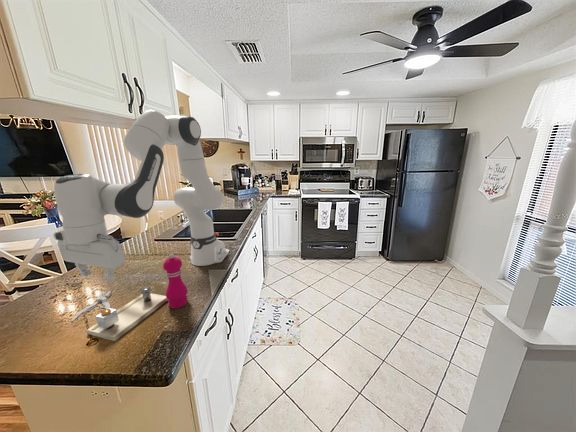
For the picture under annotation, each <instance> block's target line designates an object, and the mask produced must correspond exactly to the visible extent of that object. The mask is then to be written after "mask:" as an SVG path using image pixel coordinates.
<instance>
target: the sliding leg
mask: <svg viewBox="0 0 576 432" xmlns="http://www.w3.org/2000/svg"><path fill="white" fill-rule="evenodd" d="M117 310H118V309H116V308H111V307H110V308H108V309H105V308H104V309H102V310H101V312H100V313H99V314H97V315H95V317H96V322H97V323H98V327H99V328H103V329H107V328H108V327H110V326H111V325H113V324H114V323H116V322H117V321H119V319H118V315H117ZM97 323H96V324H97Z"/></svg>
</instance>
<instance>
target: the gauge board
mask: <svg viewBox="0 0 576 432" xmlns="http://www.w3.org/2000/svg"><path fill="white" fill-rule="evenodd" d="M150 294H151V298H150V299H149V300H148V301H146V300H144V299H143V294H142V293H141V294H140V295H139V296H137V297H135V298H134V299H132V300H131V301H129V302H128V303H126V304H124V305H123V306H122V307H120V308H118V309H116V310H117V315H118V319H119V321H117V322H116V323H114V324H113V325H111V326H110V327H108V328H107V329H103V328H99V327H98V323H95V324H94V325H92V326H90V327H89V328H88V329H86V332H87V334H88V335H90V336H94V337H97V338H102V339H105V340H108V341H113V342H116V341H117V340H118V339H120V338H121V337H122V336H124V335H125V334H126V333H127V332H129V331H130V330H132V329H133V328H134V327H136V325H138V324H139V323H141V322H142V321H143V320H145V319H146V318H147V317H148V316H150V315H151V314H152V313H153V312H155V311H156V310H158V309H159V308H160V307H162V306H163V305H164V304H165V303H166V302H169V300H168V299H167V298H166V295H163V294H162V295H161V294H158V293H157V294H156V293H151V292H150Z"/></svg>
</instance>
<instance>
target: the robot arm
mask: <svg viewBox="0 0 576 432" xmlns="http://www.w3.org/2000/svg"><path fill="white" fill-rule="evenodd" d="M201 134H202V130H201V126H200V124H199V122H198V121H197V119H196V118H195V117H193V116H189V115H182V116H181V115H168V116H165V115H164V114H163V113H162V112H160V111H158V110H154V109H148V110H145V111H143V112H142V113H141V114H140V115H139V116H138V117H137V118H136V119H135V120H134V121H133V123H132V125H130V127H129V129H128V131H127V132H126V134H125V136H124V141H123V143H124V147H125V149H126V150H127V152H128V153H129V154H130V155H131V156H133V158H135V159H137V160H138V161H140V164H139V167H138V169H137V173H136V176H135V178H134V179H133V180H132V181H130V182H128V183H111V182H107V181H103V180H100V179H98V178H96V177H94V176H93V175H91V174H89V173H76V174H69V175H64V176H61V177H59V178H58V179H56V180H55V182H54V189H53V192H54V198H55V203H56V206H57V210H58V212H59V214H60V215H61V217H62V224H61V226H62V229H61V230H59V231H54V232H53V234H52V235H53V239H54V240H56V241H57V247H58V251H59V253H60V255H61V258H62V259H63V260H64V261H65V262H68V263H73V264H74V266H75V267H76V268H77V269H78V270H79V272H80V276H82V277H88V276H91V274H92V271H91V268H89V267H88V266H90V267H91V266H92V267H98V268H104V270H105V274H103V277H104V280H105V281H112V280H114V279H115V271H116V269H117V268H119V267H121V266H124V264H125V262H126V259H125V254H124V251H123V248H122V246H121V244H120V242H119V241H118V240H117V239H115V238H114V237H113V236H112V235H110V234H109V233H108V228H107V223H106V219H105V216H107V215H110V216H123V217H128V218H134V219H140V218H142V217H145V216H146V215H148V214H149V212H150V211H151V210H152V209H153V206H154V201H155V193H156V188H157V184H158V182H159V179H160V174H161V172H162V168H163V164H164V159H165V157H164V155H165V154H164V151H163V150H162V149H163V147H164V145H165V146H166V145H171V146H175V145H176V148H177V155H178V157H177V158H178V162H179V166H180V171H181V175H182V177H183V179H185V180H187V181H188V182H189V183H190V184H191V186H192V187H191V186H186V187H181V188H177V190H175V192H174V194H173V201H174V203H175V205H176V206H177V207H179V208H180V209H181V210H182V212H183V213H184V214H185V216H186V218H187V221H188V224H189V229H190V243H191V245H190V256H189V259H190V263H191V265H192V266H197V267H204V266H210V265H213V264H219V263H221V262H223V260H224V259H225V258H226V257H227V256H228V254H229V253H230V252H229V251H230V249H229V248H226V245H225V243H224V241H221V240H219V239H217V237H219V236H220V235H219V234H220V232H215V230H214V221H213V219H212V218H211V217H210V216H209V215H207V213H206V212H205V210H206V211H211V210H218V209H220V208H222V206H223V204H224V200H225V198H224V194H223V192H222V191H221V190H220V189H219V188H217V187H216V185H214V184H213V182H212V180H211V179H210V177H209V174H208V171H207V165H206V161H205V155H204V152H203V147H202V144H201V141H200V139H201Z"/></svg>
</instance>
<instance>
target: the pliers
mask: <svg viewBox="0 0 576 432" xmlns="http://www.w3.org/2000/svg"><path fill="white" fill-rule="evenodd" d="M111 295H112V291H110V290H109V291H108V292H107V293H106V294H104V293H103V292H100V293H99V295H98V296H97V298H96V301H95V302H94V303H91V304H90V305H88V306H86V307H84V308H83V309H81V310H80V311H79V312H77V313H76V314H75V315H74V316H73V317H72V319H71V320H70V321H71V323H74V321H75V320H76V319H78V318H79V317H80V316H81V315H83V314H84V313H86V312H88V311H91V310H93V309H95V308H97V306H96V305H98V304H99V303H101V304H102V306H101V305H100V304H99V308H100V309H104V310H105V309H108V308H111V304H110V303H109V301H107V300H108V299H109V298H110V296H111Z"/></svg>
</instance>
